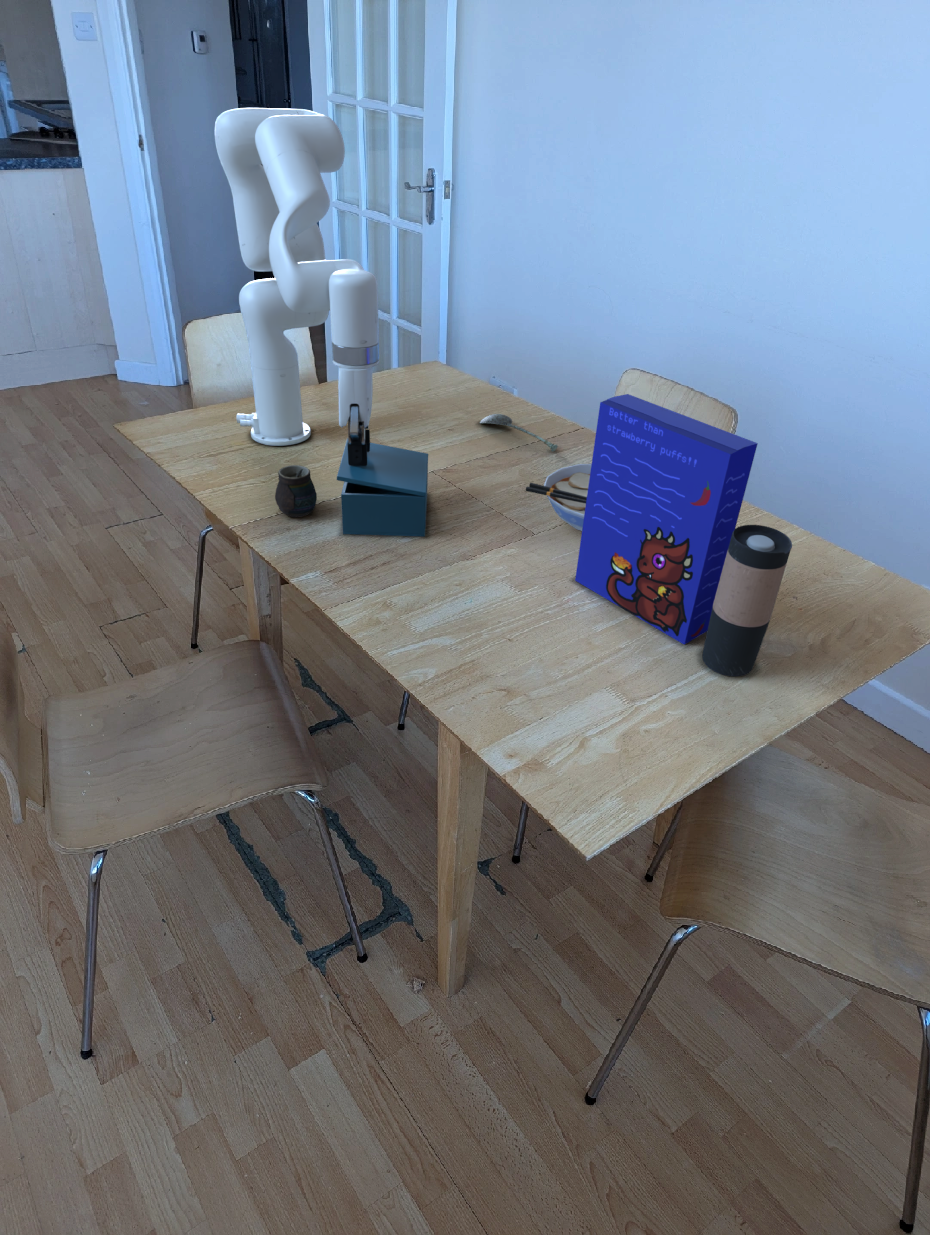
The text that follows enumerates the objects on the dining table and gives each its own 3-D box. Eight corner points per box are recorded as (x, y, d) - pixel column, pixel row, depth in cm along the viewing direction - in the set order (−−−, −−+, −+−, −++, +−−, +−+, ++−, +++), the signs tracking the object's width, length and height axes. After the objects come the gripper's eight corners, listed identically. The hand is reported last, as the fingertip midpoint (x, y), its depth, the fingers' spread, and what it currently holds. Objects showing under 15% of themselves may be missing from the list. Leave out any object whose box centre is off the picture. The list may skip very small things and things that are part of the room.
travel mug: (692, 645, 120) (723, 524, 108) (743, 644, 120) (778, 523, 109) (710, 678, 113) (744, 553, 102) (763, 677, 114) (803, 553, 103)
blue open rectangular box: (342, 534, 142) (341, 494, 138) (352, 492, 156) (350, 455, 151) (425, 536, 143) (425, 497, 138) (427, 495, 156) (428, 457, 152)
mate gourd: (304, 499, 152) (300, 448, 147) (327, 514, 148) (323, 462, 142) (269, 509, 148) (264, 458, 143) (292, 526, 144) (287, 473, 138)
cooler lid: (336, 480, 136) (340, 450, 133) (346, 442, 150) (350, 414, 147) (425, 496, 138) (431, 467, 135) (427, 457, 152) (433, 430, 149)
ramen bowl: (685, 517, 153) (693, 476, 148) (654, 573, 136) (663, 530, 131) (558, 487, 161) (563, 448, 156) (514, 537, 144) (518, 495, 139)
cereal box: (708, 630, 123) (758, 441, 106) (684, 644, 120) (731, 452, 103) (599, 569, 136) (628, 392, 119) (575, 580, 133) (600, 400, 116)
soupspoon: (495, 420, 191) (474, 427, 187) (495, 406, 189) (473, 413, 185) (565, 447, 177) (543, 456, 174) (565, 433, 175) (544, 441, 172)
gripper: (338, 337, 140) (343, 438, 150) (325, 369, 125) (332, 478, 136) (382, 338, 140) (384, 439, 150) (375, 370, 126) (377, 479, 136)
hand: (359, 457), depth 143 cm, fingers closed on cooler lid, 5 cm apart
